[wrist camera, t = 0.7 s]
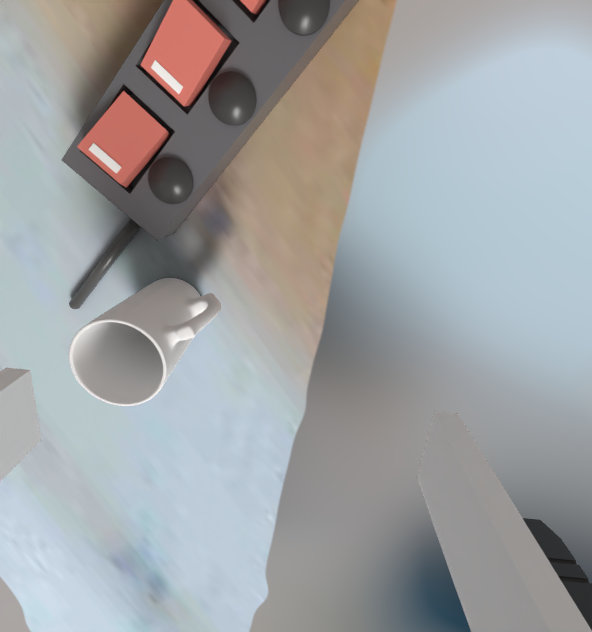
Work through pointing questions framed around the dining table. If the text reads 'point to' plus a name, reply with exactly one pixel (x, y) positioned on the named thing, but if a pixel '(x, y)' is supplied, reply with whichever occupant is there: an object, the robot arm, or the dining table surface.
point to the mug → (139, 341)
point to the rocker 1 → (124, 140)
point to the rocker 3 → (254, 5)
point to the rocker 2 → (185, 51)
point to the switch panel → (204, 111)
